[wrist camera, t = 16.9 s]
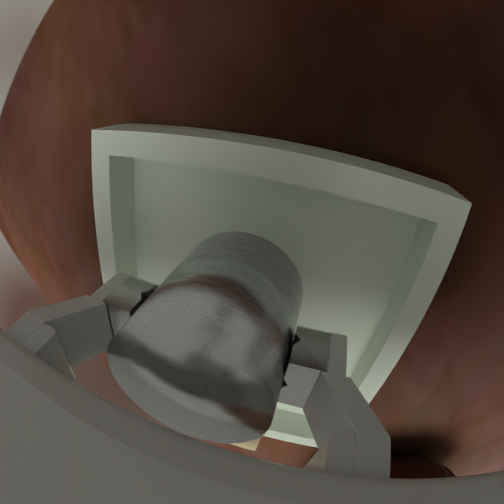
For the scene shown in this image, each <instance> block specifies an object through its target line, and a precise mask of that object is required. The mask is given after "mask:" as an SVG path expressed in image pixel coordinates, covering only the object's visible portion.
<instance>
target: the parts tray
mask: <svg viewBox="0 0 504 504" xmlns="http://www.w3.org/2000/svg"><path fill="white" fill-rule="evenodd" d="M92 185H93V202H94V215H95V225H96V235H97V244H98V252H99V259H100V266H101V273H102V279H103V285H104V284H105V283H106V282H107V281H108V280H109V279H110V278H112V277H113V276H114V275H115V274H116V273H119V272H123V273H125V274H128V275H131V276H134V277H137V278H140V279H142V280H145V281H148V282H151V283H154V284H156V285H158V286H159V285H160V284H161V283H162V282H163V281H164V280H165V279H166V278H167V277H168V276H169V274H170V273H171V272H172V271H173V270H174V269H175V268H176V267H177V266H178V265H179V264H180V263H181V262H182V261H183V260H184V259H185V258H186V256H187V255H188V254H189V253H190V252H191V251H192V250H193V249H194V248H195V247H196V246H197V245H198V244H199V243H200V242H202V241H203V240H204V239H206V238H208V237H209V236H212V235H215V234H217V233H222V232H229V231H238V232H246V233H251V234H254V235H257V236H260V237H262V238H264V239H266V240H268V241H270V242H272V243H273V244H275V245H276V246H277V247H279V248H280V249H281V250H282V251H283V252H284V253H286V254H287V256H288V257H289V258H290V259H291V260H292V262H293V263H294V265H295V266H296V268H297V270H298V272H299V275H300V277H301V281H302V286H303V299H302V304H301V308H300V313H299V317H298V322H297V325H300V326H304V327H308V328H312V329H317V330H321V331H325V332H329V333H330V332H331V333H336V334H341V335H346V336H347V366H346V377H350V378H351V379H352V380H353V382H354V383H355V385H356V386H357V388H358V389H359V391H360V392H361V394H362V395H363V397H364V398H365V400H366V401H367V403H368V404H369V403H370V402H371V400H372V399H373V398H374V396H375V395H376V393H377V392H378V390H379V389H380V388H381V386H382V385H383V383H384V382H385V380H386V379H387V377H388V376H389V374H390V373H391V371H392V370H393V368H394V367H395V365H396V363H397V362H398V360H399V359H400V357H401V355H402V354H403V352H404V350H405V349H406V347H407V345H408V344H409V342H410V340H411V339H412V337H413V335H414V333H415V332H416V330H417V328H418V326H419V324H420V323H421V321H422V319H423V317H424V315H425V313H426V311H427V309H428V308H429V306H430V304H431V302H432V300H433V298H434V296H435V294H436V292H437V289H438V287H439V285H440V283H441V281H442V279H443V277H444V274H445V272H446V270H447V268H448V265H449V263H450V261H451V258H452V256H453V254H454V251H455V249H456V246H457V244H458V241H459V239H460V236H461V233H462V231H463V228H464V225H465V223H466V220H467V217H468V214H469V211H470V208H471V205H472V203H471V202H469V201H468V200H467V199H466V198H464V197H463V196H462V195H461V194H459V193H458V192H457V191H456V190H454V189H453V188H452V187H450V186H449V185H448V184H445V183H442V182H439V181H436V180H433V179H430V178H428V177H425V176H422V175H419V174H415V173H412V172H409V171H406V170H403V169H399V168H396V167H393V166H389V165H386V164H383V163H379V162H375V161H372V160H368V159H364V158H361V157H357V156H353V155H349V154H345V153H341V152H337V151H332V150H328V149H324V148H319V147H315V146H310V145H305V144H300V143H295V142H290V141H285V140H279V139H274V138H268V137H262V136H256V135H249V134H243V133H236V132H228V131H221V130H213V129H204V128H194V127H184V126H172V125H159V124H141V123H125V124H119V125H113V126H108V127H102V128H97V129H93V130H92ZM296 328H297V326H296ZM295 331H296V330H295ZM263 436H266V437H270V438H275V439H279V440H283V441H287V442H292V443H297V444H302V445H307V446H312V447H317V444H316V442H315V439H314V437H313V434H312V432H311V429H310V427H309V424H308V422H307V419H306V417H305V414H304V412H303V408H299V407H295V406H291V405H287V404H283V403H280V402H277V406H276V409H275V413H274V416H273V420H272V423H271V426H270V428H269V429H268V431H267V432H266V433H265V434H264V435H263ZM317 448H318V447H317Z"/></svg>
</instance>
